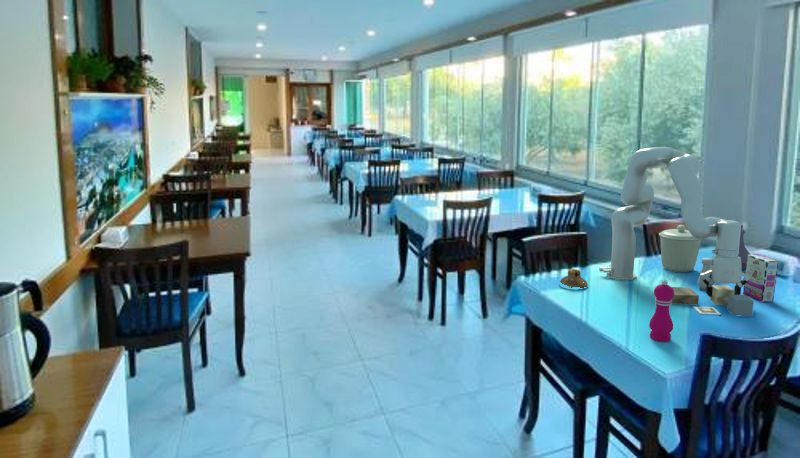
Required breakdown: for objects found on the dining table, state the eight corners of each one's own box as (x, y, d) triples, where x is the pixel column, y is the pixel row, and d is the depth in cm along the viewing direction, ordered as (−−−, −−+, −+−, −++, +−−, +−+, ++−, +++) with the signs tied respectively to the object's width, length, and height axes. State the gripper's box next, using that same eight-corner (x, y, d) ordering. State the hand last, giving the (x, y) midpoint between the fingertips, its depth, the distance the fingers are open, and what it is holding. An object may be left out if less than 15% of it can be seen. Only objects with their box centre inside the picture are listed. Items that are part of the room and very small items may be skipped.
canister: (707, 274, 251) (712, 228, 247) (666, 275, 252) (670, 229, 247) (687, 263, 269) (691, 220, 264) (649, 264, 269) (653, 221, 265)
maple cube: (716, 305, 214) (717, 290, 213) (710, 299, 220) (711, 285, 219) (733, 305, 213) (734, 290, 212) (726, 300, 219) (728, 285, 218)
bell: (573, 280, 248) (574, 264, 246) (593, 288, 237) (594, 271, 236) (552, 284, 243) (553, 268, 241) (572, 292, 232) (573, 275, 231)
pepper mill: (650, 332, 190) (655, 275, 186) (674, 336, 186) (679, 279, 182) (646, 339, 184) (650, 281, 180) (670, 344, 180) (675, 284, 176)
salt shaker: (714, 291, 230) (718, 260, 227) (699, 290, 231) (702, 259, 228) (710, 286, 235) (713, 256, 232) (695, 286, 236) (698, 256, 234)
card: (700, 314, 205) (700, 312, 205) (693, 307, 212) (693, 306, 212) (720, 314, 204) (720, 313, 204) (713, 308, 211) (713, 306, 210)
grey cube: (733, 315, 203) (735, 299, 202) (727, 309, 209) (728, 294, 208) (751, 316, 202) (753, 300, 201) (744, 310, 208) (746, 295, 207)
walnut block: (670, 304, 216) (671, 294, 215) (662, 296, 226) (663, 286, 225) (698, 305, 215) (698, 295, 214) (688, 296, 225) (689, 287, 224)
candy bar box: (774, 302, 216) (779, 261, 212) (762, 302, 215) (767, 261, 212) (754, 292, 227) (758, 253, 223) (742, 293, 226) (746, 254, 223)
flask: (707, 263, 269) (711, 222, 265) (739, 261, 271) (743, 221, 267) (730, 273, 253) (735, 229, 249) (764, 271, 255) (769, 228, 251)
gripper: (706, 255, 210) (702, 298, 213) (756, 255, 207) (751, 299, 211) (698, 250, 217) (695, 292, 221) (747, 250, 215) (742, 293, 218)
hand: (722, 296), depth 216 cm, fingers open, 9 cm apart
